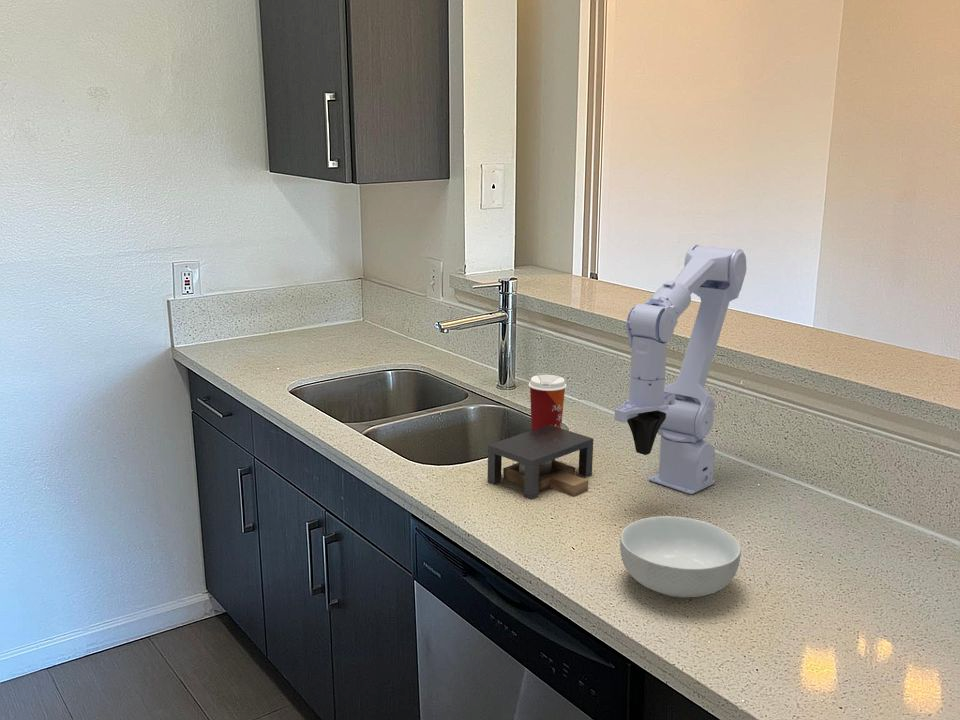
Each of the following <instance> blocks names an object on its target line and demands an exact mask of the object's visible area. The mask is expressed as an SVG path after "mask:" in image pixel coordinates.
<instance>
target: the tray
mask: <svg viewBox="0 0 960 720" xmlns="http://www.w3.org/2000/svg"><path fill="white" fill-rule="evenodd" d="M524 477H525V465H524V464H521V463H519V462H516V463H513V464H511V465H508V466H505V467H503V469H502V478H503V479H504V480H506V481H510V482H512V483H513V484H514V483H515V484H516V485H520V486H522V487H524ZM548 489H552V490H555V491H558V492H561V493H564V494H566V495H569V496H571V497H576V496H579V495H580V494H583V493H586V492H587V491H589V479H587V478H585V477H582V476H581V477H580V476H578V475H576V466H571V465H570V464H566V463H563V462H561V461H558V460H556V459H555V460H551V461H548V462H546V463H543V464H540V465H539V493H541V492H543V491H545V490H548Z"/></svg>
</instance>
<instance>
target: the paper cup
mask: <svg viewBox="0 0 960 720" xmlns="http://www.w3.org/2000/svg"><path fill="white" fill-rule="evenodd" d="M565 380H566V379H565V378H564V377H562V376H558V375H555V374H554V375H553V374H537V375H534V376H532V377H531V378H530V381H529V383H528V387H529V392H530V393H529V395H530V416H531V417H530V419H531V426H530V427H531V430H534V429H537V428H540V427H543V426H546V425H552V426H555V427H558V428H562V424H563V414H564V413H563V412H564V402H565V390H566V388H567V383H566V381H565Z"/></svg>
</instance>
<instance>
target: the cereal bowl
mask: <svg viewBox="0 0 960 720" xmlns="http://www.w3.org/2000/svg"><path fill="white" fill-rule="evenodd" d="M619 542H620V543H619V547H620V548H619V550H620V557H621V561H622V564H623V565H624V568H625V569H626V571H627V572H628V574H629V575H630V576H631V577H632V578H633V579H634V580H635V581H637V582H638V583H639V584H641V585H642V586H644V587H646V588H648V589H649V590H652V591H654V592H656V593H659V594H662V595H664V596H668V597H672V598H682V599H683V598H685V599H686V598H688V599H689V598H698V597H704V596H708V595H712V594H714V593H717V592H719V591H720V590H723V589H724V588H725V587H726V586H728V584H729V583H730V582H732V580H734V578H735V576H736V575H737V572H738V569H739V567H740V562H741V555H742V546H741V543H740V542H739V541H738V539H737V538H736V537H734V536H733V534H731V533H729V532H728V531H726V530H725V529H723V528H721V527H719V526H717V525H714V524H712V523H710V522H707V521H703V520H698V519H695V518H689V517H684V516H683V517H682V516H671V515H667V516H666V515H665V516H663V515H662V516H651V517H646V518H641V519H639V520H636V521H633V522H631V523H629V524H628V525H626V527H625V528H624V529H623V530H622V531H621V534H620V540H619Z"/></svg>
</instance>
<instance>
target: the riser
mask: <svg viewBox="0 0 960 720" xmlns="http://www.w3.org/2000/svg"><path fill="white" fill-rule="evenodd" d="M574 452H578V473H577V474H578V475H579V476H581V477H583V478H587V477H590V476H592V475H593V463H594V462H593V460H594V457H593V455H594V438H593V437H590V436H586V435H583V434H580V433H577V432H573V431H571V430H568V429H564V428H562V427H561V428H558V427H555V426H552V425H546V426H543V427H540V428H537V429H534V430H532V429H531V430H529V431H526V432H523V433H519V434H517V435H516V434H515V435H513V436H511V437H508V438H504V439H501V440H499V441H496V442H493V443H490V444H487V483H490V484H492V485H497V484H500V483H502V470H503V469H502V464H503V462H502V460H503V459H502V458H506V459H508V460H511V461H514V462H516V463H521V464H524V465H525V477H524V486H523V488H524V489H523V497H524V498H526V499H527V498H528V499H529V500H533V499H536V498H538V497H539V493H540V492H539V465H540V464H543V463H546V462H548V461H551V460H555V461H556V459H558V458H561V457H564V456H567V455H569V454H572V453H574ZM578 475H577V476H578Z"/></svg>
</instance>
